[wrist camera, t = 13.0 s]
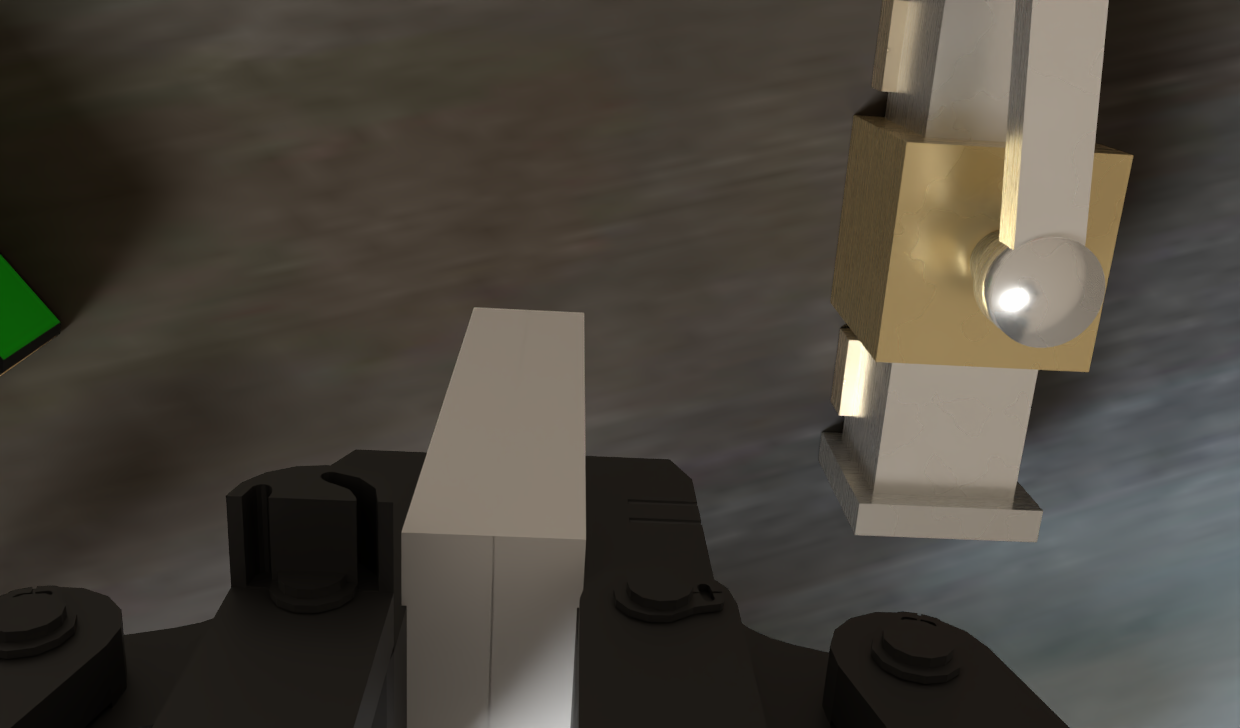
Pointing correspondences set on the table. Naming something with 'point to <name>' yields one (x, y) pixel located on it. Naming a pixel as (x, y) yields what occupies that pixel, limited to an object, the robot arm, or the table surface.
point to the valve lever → (1048, 178)
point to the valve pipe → (939, 288)
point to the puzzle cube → (21, 319)
